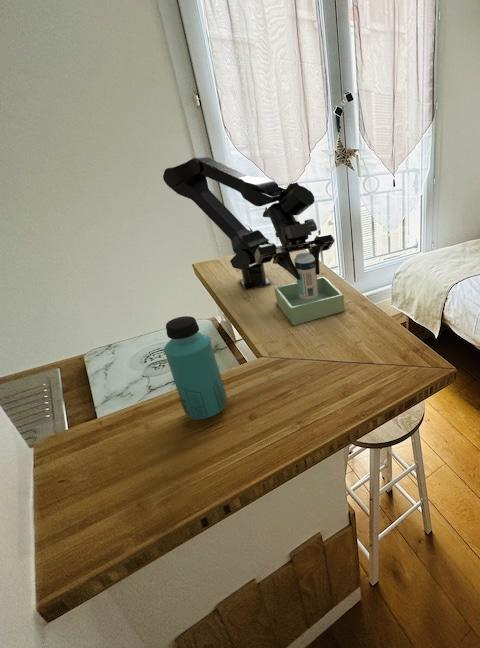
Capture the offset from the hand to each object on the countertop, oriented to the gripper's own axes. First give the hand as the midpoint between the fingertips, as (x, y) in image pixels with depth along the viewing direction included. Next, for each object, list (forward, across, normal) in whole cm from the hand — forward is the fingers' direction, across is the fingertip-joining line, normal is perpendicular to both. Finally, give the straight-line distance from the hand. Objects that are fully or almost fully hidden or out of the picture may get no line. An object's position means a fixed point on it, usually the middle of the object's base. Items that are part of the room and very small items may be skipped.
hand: (308, 276), depth 103 cm
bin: (+6, 0, +8) cm, 10 cm away
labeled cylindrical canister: (+4, 0, +6) cm, 7 cm away
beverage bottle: (+24, -30, -10) cm, 40 cm away
